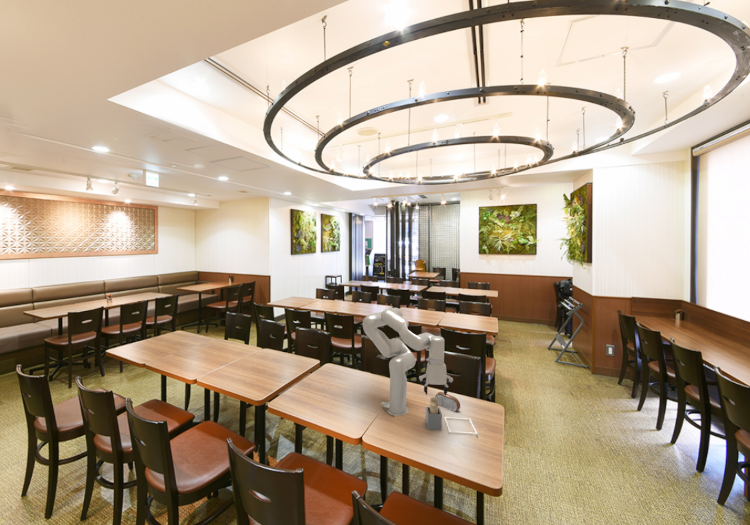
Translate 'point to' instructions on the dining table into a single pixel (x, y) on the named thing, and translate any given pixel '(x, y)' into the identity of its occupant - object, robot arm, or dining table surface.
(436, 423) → the holder
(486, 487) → the dining table surface
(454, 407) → the tin
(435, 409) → the dowel
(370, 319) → the robot arm
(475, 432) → the white square frame
